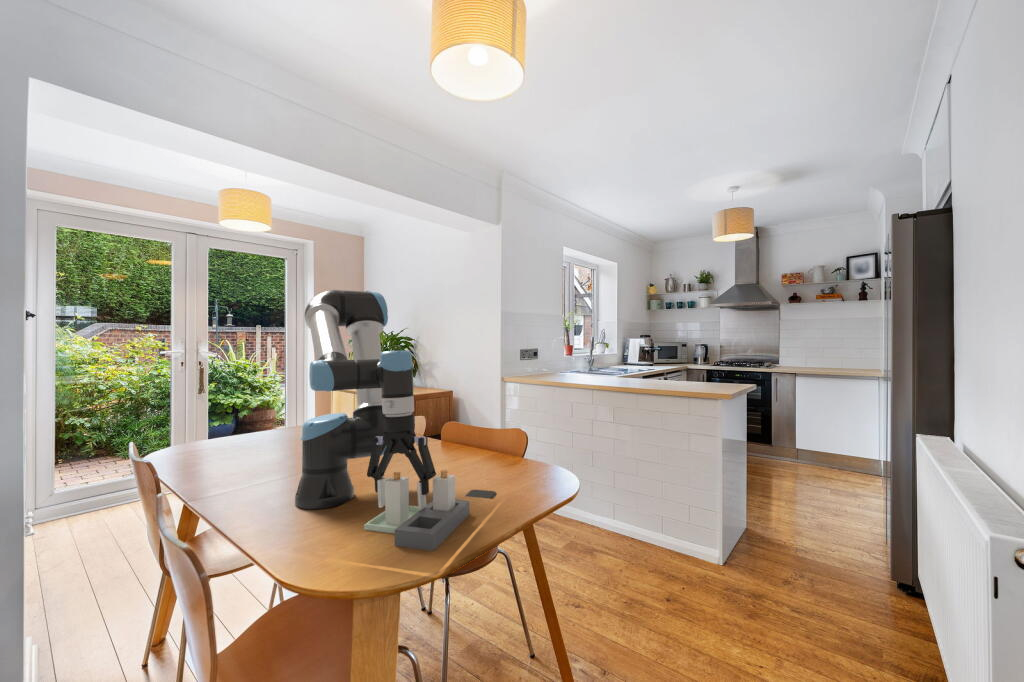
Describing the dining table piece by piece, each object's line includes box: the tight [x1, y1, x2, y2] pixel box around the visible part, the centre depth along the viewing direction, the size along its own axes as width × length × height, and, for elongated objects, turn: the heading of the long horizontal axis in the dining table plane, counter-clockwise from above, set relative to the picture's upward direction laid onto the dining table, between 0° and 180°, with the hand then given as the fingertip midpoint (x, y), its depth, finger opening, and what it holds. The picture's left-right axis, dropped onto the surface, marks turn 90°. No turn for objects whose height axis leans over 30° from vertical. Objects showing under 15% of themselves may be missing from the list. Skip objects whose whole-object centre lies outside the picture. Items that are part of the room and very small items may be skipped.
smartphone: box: [464, 489, 497, 500], centre depth 120 cm, size 8×1×16 cm
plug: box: [384, 471, 410, 525], centre depth 106 cm, size 4×4×12 cm
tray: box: [363, 505, 419, 535], centre depth 106 cm, size 9×13×2 cm
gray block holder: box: [394, 469, 470, 552], centre depth 101 cm, size 9×20×12 cm, turn 164°
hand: (402, 506), depth 106 cm, fingers open, 10 cm apart
